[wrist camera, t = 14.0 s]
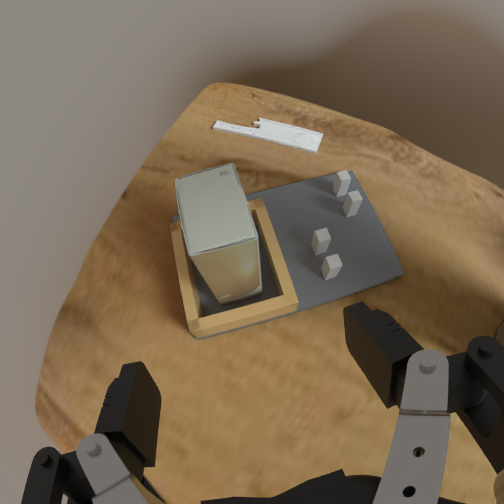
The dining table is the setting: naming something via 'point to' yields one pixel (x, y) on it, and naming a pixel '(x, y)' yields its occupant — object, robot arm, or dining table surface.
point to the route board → (296, 254)
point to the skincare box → (220, 232)
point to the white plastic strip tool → (276, 134)
